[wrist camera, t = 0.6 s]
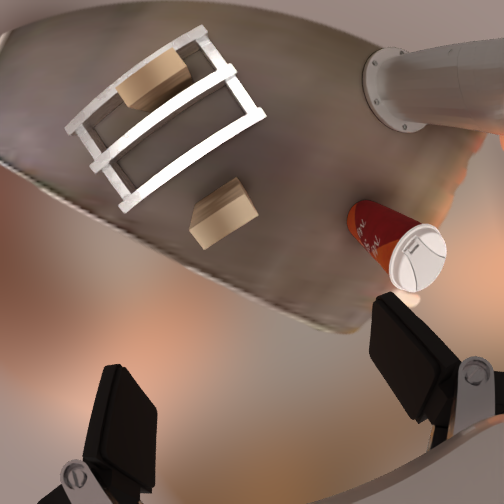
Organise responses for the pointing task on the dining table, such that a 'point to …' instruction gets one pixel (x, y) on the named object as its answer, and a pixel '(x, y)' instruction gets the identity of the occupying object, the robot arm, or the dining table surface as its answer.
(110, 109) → the rack
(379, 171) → the dining table surface
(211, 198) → the beech board
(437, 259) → the paper cup
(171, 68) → the oak board
